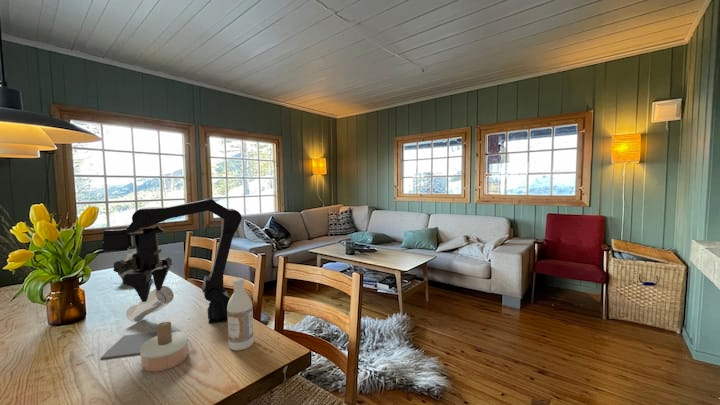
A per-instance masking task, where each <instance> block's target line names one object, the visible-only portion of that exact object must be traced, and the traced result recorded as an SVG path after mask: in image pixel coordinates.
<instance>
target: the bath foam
mask: <svg viewBox="0 0 720 405" xmlns="http://www.w3.org/2000/svg"><path fill="white" fill-rule="evenodd" d="M232 286H233V293H232V295H231V296H230V300H229V302H228V306H227V319H228V321H227V336H228V347H229V349H230V350H232V351H237V352H238V351H242V350H246V349H248V348H250V347H252V346H253V344H254V341H255V339H254V337H255V336H254V314H253V302H252V298H251V297H250V295H249V294H248V293H247V292H246V291H245V279H244V278H242V277H239V278H234V279H233V285H232Z"/></svg>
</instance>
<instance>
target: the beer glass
mask: <svg viewBox="0 0 720 405" xmlns="http://www.w3.org/2000/svg"><path fill="white" fill-rule="evenodd" d="M174 297H175V294H174V291H173V289H172V288H170V287H169V286H168V285H162V288H161V290H160V291H157V290H156V288H155V289H153V290H150V292H149V296H148V299H147V301H146V302H142V300H141V299H140V300H139V302H137V303H136V304H133V305H131V306H129V307H128V308H127V310H126V312H125V316H126V319H128V321H129V322H131V323H139V322H142V321H143V320H144V319H145V318H146V317H147V316H148V315H151V314H154V313H157V312H159V311H161V310H162V309H164V308H165V307H166V306H168V305H169V304H170V303H171V302H173V300H174Z"/></svg>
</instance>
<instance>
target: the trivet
mask: <svg viewBox="0 0 720 405" xmlns="http://www.w3.org/2000/svg"><path fill="white" fill-rule="evenodd" d="M156 336H157V331H151V332H142V333H134V334H127V335H126V334H124V335H123V336H121V338H120V339H119V340H117V341H116V342H115V343H114V344H113V345H112V346H111V347H110V348H109V349H108V350H107V351H106V352H105V353H104V354H103V355H102V356H100V360H106V359H113V358H114V359H115V358H121V357H122V358H123V357H129V356H137V355H139V356H140V355H141V354H140V347H141V346H142V345H143V344H144V343H145V342H146V341H148V340H149V339H151V338H153V337H156Z"/></svg>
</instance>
